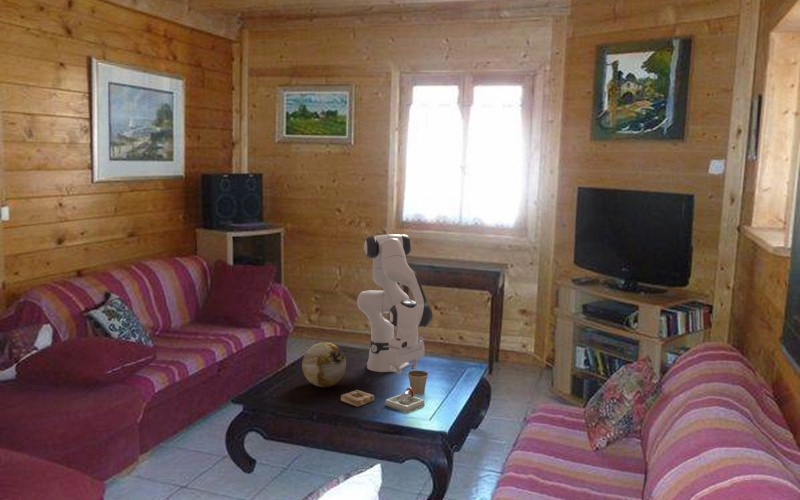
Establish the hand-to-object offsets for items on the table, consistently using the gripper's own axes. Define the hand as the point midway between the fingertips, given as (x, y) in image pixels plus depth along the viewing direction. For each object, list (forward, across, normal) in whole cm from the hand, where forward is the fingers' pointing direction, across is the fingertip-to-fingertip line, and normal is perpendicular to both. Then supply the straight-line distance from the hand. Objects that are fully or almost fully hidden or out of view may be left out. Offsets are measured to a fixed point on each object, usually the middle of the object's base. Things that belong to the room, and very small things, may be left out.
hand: (406, 371), depth 283 cm
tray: (+15, +1, 0) cm, 15 cm away
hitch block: (+15, +11, -18) cm, 25 cm away
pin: (+12, +3, 0) cm, 12 cm away
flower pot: (+15, -16, -6) cm, 23 cm away
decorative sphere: (+15, +8, -42) cm, 45 cm away
